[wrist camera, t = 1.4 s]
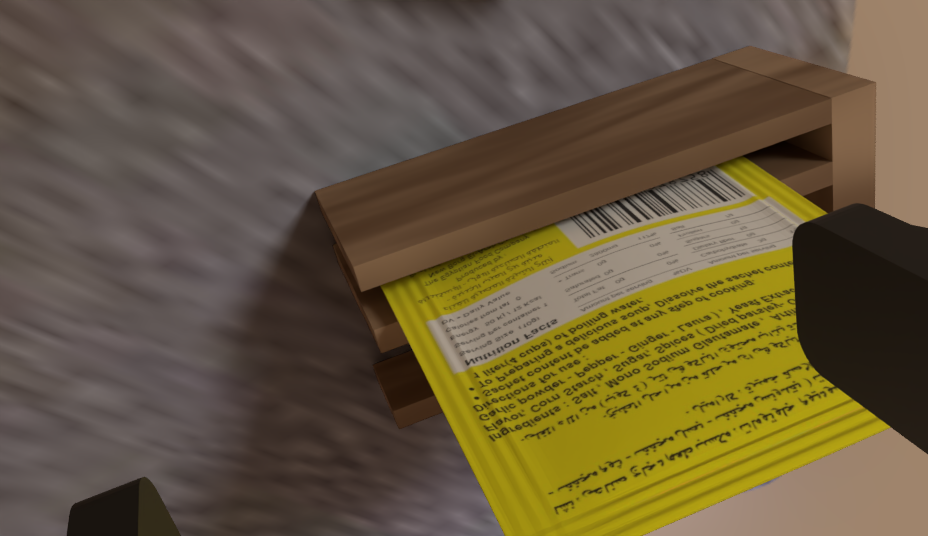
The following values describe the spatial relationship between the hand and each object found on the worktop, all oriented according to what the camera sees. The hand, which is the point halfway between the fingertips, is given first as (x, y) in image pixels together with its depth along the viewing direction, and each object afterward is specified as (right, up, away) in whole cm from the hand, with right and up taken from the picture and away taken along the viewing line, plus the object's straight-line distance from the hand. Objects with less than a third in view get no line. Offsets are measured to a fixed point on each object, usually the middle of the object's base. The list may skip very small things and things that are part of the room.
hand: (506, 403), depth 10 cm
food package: (+1, +7, +28) cm, 29 cm away
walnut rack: (+4, +4, +30) cm, 31 cm away
